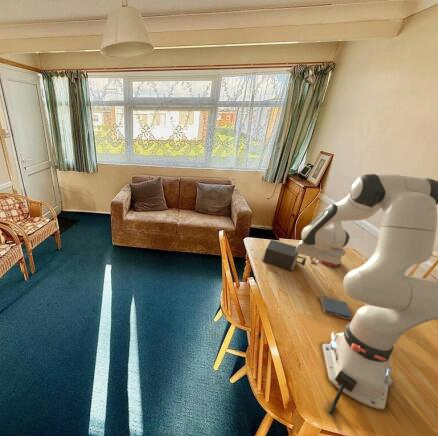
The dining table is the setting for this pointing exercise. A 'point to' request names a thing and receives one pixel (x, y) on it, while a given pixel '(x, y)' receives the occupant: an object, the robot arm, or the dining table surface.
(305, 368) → the dining table surface
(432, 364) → the dining table surface
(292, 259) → the cabinet
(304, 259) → the drawer
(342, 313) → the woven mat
